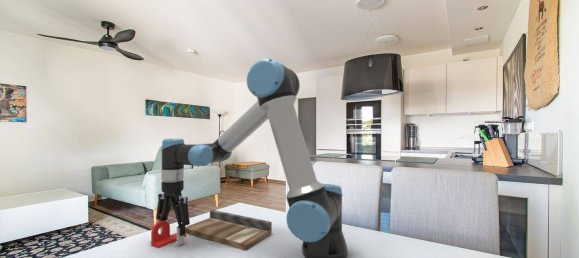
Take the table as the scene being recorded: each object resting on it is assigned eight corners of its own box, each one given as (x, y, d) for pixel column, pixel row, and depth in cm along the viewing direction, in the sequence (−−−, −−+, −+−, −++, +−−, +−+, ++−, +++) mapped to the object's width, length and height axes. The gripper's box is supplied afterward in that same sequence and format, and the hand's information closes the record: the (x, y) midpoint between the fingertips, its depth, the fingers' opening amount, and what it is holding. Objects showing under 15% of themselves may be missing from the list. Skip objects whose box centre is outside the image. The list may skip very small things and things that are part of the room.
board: (271, 234, 103) (271, 221, 103) (245, 250, 89) (246, 236, 89) (213, 220, 119) (213, 209, 119) (183, 232, 105) (183, 220, 105)
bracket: (159, 248, 91) (159, 226, 91) (151, 246, 93) (151, 223, 93) (187, 236, 101) (187, 216, 101) (179, 234, 103) (179, 214, 103)
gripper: (201, 181, 94) (200, 243, 94) (163, 176, 104) (163, 232, 104) (183, 185, 87) (182, 252, 87) (145, 179, 98) (145, 239, 98)
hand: (172, 241), depth 96 cm, fingers open, 8 cm apart
